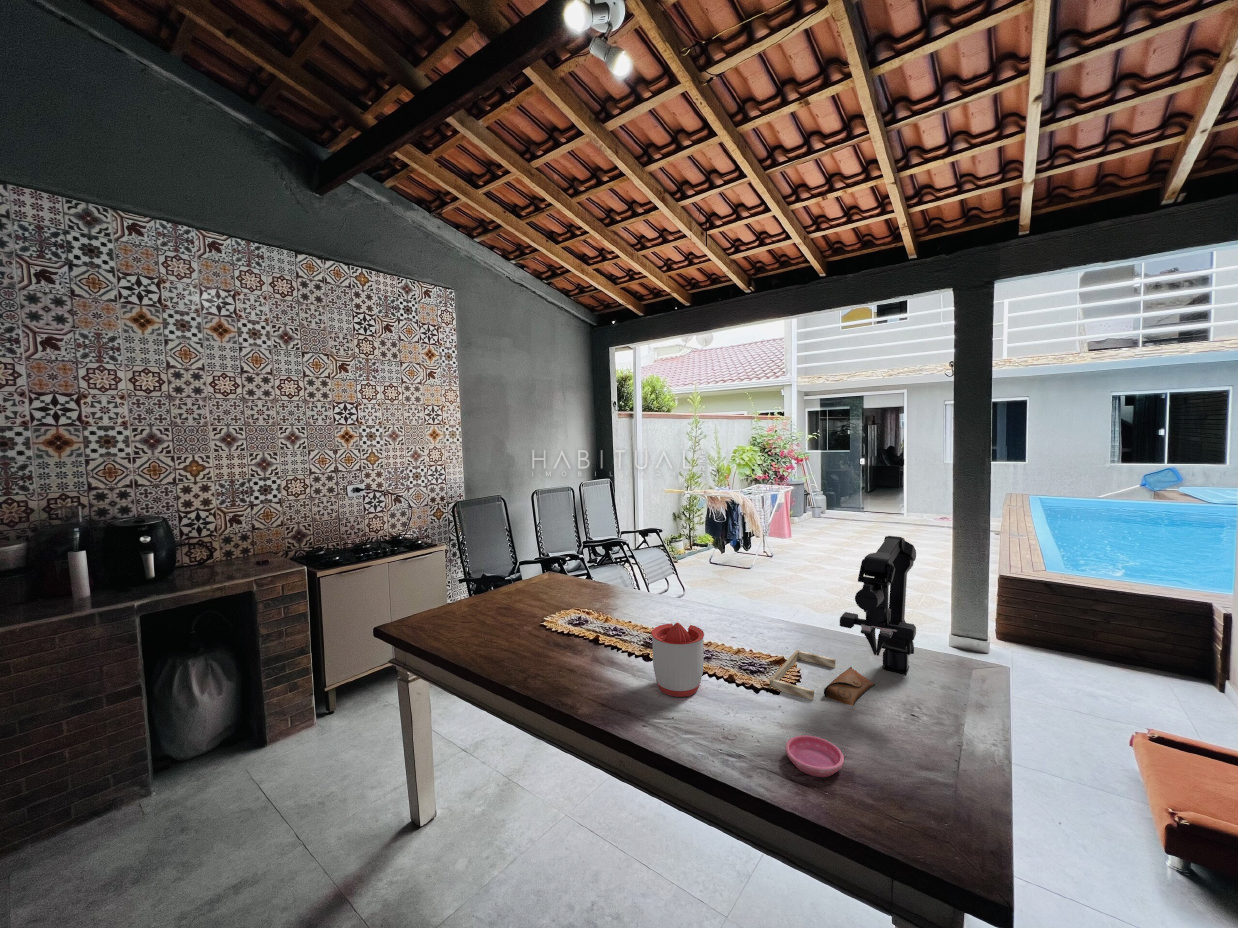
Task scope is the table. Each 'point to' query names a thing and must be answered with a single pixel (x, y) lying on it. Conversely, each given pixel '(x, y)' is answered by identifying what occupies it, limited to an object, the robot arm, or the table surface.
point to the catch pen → (789, 663)
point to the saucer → (814, 755)
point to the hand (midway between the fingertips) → (876, 654)
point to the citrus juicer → (678, 658)
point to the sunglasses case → (848, 687)
